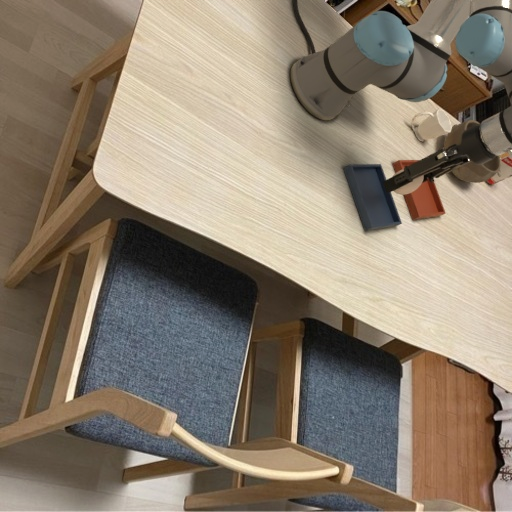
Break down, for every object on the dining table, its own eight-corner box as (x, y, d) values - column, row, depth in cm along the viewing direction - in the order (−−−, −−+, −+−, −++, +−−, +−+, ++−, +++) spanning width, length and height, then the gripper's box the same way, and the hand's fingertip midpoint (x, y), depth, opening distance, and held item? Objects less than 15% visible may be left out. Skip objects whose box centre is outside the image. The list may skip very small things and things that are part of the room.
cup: (427, 150, 158) (452, 137, 152) (404, 132, 153) (430, 118, 147) (426, 131, 161) (451, 117, 156) (404, 112, 156) (429, 97, 151)
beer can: (486, 186, 175) (537, 164, 164) (478, 167, 176) (528, 144, 165) (494, 184, 180) (544, 162, 168) (486, 165, 180) (536, 143, 169)
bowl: (432, 124, 165) (463, 107, 158) (467, 149, 175) (497, 134, 168) (437, 175, 158) (470, 159, 150) (474, 198, 167) (506, 184, 160)
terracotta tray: (392, 163, 144) (399, 160, 142) (419, 163, 153) (426, 159, 152) (412, 220, 142) (419, 217, 140) (439, 216, 151) (445, 213, 149)
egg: (396, 178, 130) (425, 163, 125) (402, 200, 129) (432, 186, 123) (382, 175, 127) (411, 159, 121) (388, 198, 125) (418, 183, 120)
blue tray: (343, 168, 130) (350, 164, 128) (374, 167, 138) (381, 164, 136) (364, 231, 127) (372, 227, 126) (394, 226, 136) (402, 223, 134)
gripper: (474, 157, 104) (375, 204, 121) (515, 157, 117) (420, 200, 134) (459, 120, 105) (363, 172, 122) (501, 124, 118) (409, 170, 135)
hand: (393, 186), depth 128 cm, fingers closed on egg, 5 cm apart
